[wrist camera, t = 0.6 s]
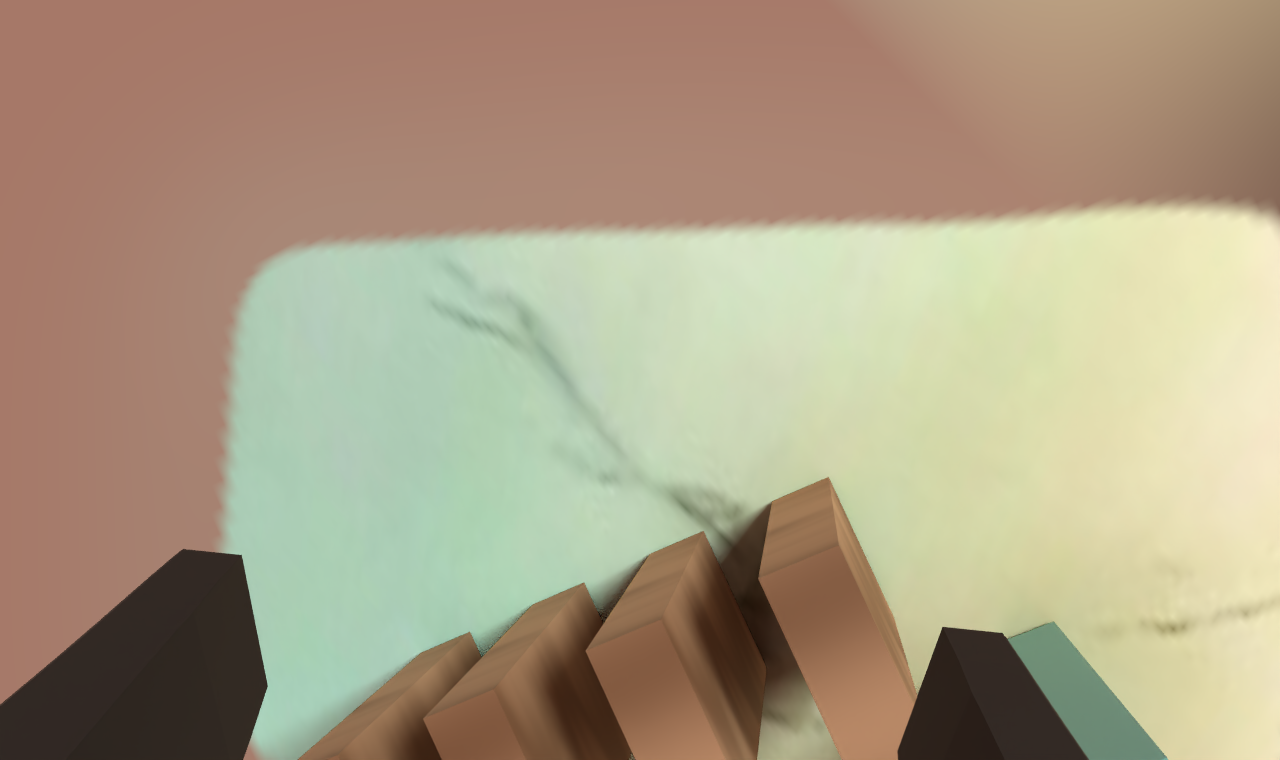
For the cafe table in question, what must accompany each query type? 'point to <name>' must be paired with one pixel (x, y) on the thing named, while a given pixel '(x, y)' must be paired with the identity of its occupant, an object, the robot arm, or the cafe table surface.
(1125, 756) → the domino
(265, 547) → the cafe table surface
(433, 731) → the domino
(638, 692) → the domino
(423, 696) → the domino
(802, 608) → the domino
